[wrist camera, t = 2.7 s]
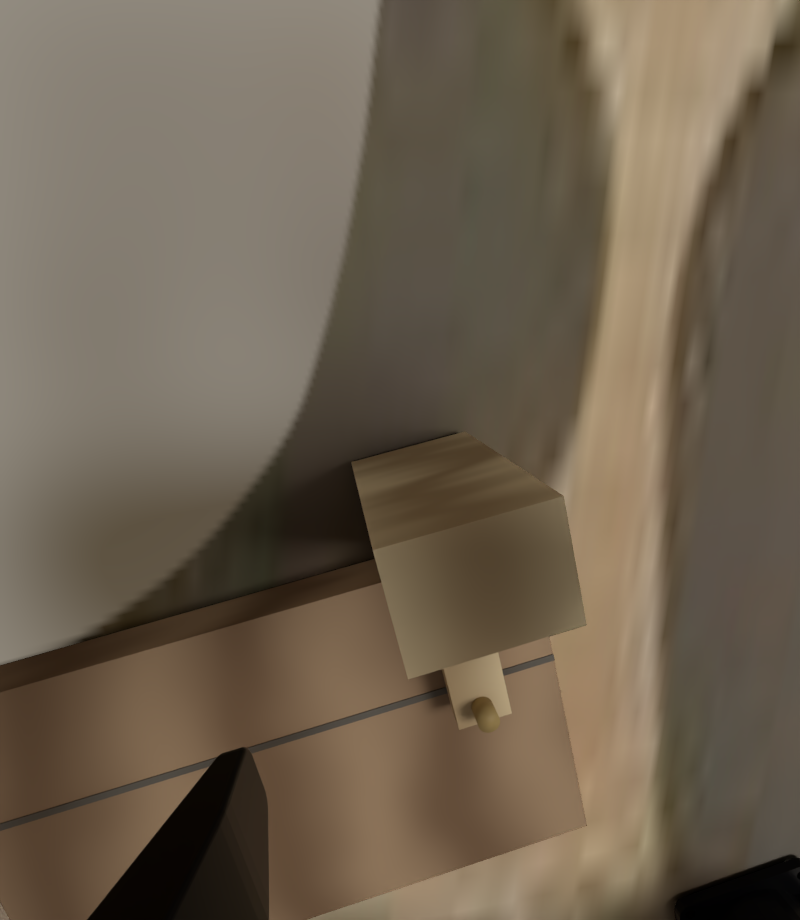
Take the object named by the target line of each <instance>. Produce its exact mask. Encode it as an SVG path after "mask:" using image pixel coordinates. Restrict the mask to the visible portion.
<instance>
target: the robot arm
mask: <svg viewBox="0 0 800 920" xmlns="http://www.w3.org/2000/svg"><path fill="white" fill-rule="evenodd" d="M675 916H676V920H800V858H794V859H791V860H788V861H786V862H783V863H780V864H777V865H774V866H771V867H768V868H766V869H763V870H760V871H757V872H754V873H751V874H748V875H746V876H743V877H740V878H737V879H734V880H731V881H728V882H726V883H723V884H720V885H717V886H714V887H711V888H708V889H706V890H703V891H700V892H697V893H694V894H691V895H688V896H686V897H683V898H681V899H679V900H678V901H677V902H676V904H675ZM87 920H269V838H268V801H267V795H266V791H265V788H264V785H263V783H262V780H261V777H260V775H259V772H258V769H257V767H256V764H255V761H254V759H253V756H252V753H251V752H250V750H249V749H248V748H246V747H241V748H238V749H234V750H231V751H228V752H225V753H222V754H220V755H219V756H218V757H217V758H216V759H215V760H214V761H213V763H212V764H211V765H210V766H209V768H208V769H207V770H206V771H205V773H204V774H203V775H202V776H201V778H200V779H199V780H198V781H197V783H196V784H195V785H194V786H193V788H192V789H191V790H190V791H189V793H188V794H187V795H186V796H185V798H184V799H183V800H182V801H181V803H180V804H179V805H178V806H177V808H176V809H175V810H174V811H173V813H172V814H171V815H170V816H169V818H168V819H167V820H166V821H165V823H164V824H163V825H162V826H161V828H160V829H159V830H158V831H157V833H156V834H155V835H154V836H153V838H152V839H151V840H150V841H149V843H148V844H147V845H146V846H145V848H144V849H143V850H142V851H141V853H140V854H139V855H138V856H137V858H136V859H135V860H134V861H133V863H132V864H131V865H130V866H129V868H128V869H127V870H126V871H125V873H124V874H123V875H122V876H121V878H120V879H119V880H118V881H117V883H116V884H115V885H114V886H113V888H112V889H111V890H110V891H109V893H108V894H107V895H106V896H105V898H104V899H103V900H102V901H101V903H100V904H99V905H98V906H97V908H96V909H95V910H94V911H93V913H92V914H91V915H90V916H89V918H88V919H87Z"/></svg>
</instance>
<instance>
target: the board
mask: <svg viewBox="0 0 800 920" xmlns="http://www.w3.org/2000/svg"><path fill="white" fill-rule="evenodd" d="M498 654H499V658H500V663H501V667H502V671H503V676H504V680H505V685H506V689H507V694H508V698H509V703H510V707H511V711H512V714H508V715H505V716H502V717H499V718H500V725H499V727H498V728H497V729H496V730H495V731H493V732H490V733H485V732H483V731H481V730H480V729H479V727H478V724H477V725H473V726H470V727H467V728H464V729H461V730H459V728H458V725H457V722H456V720H455V717H454V714H453V711H452V708H451V704H450V700H449V696H448V692H447V688H446V684H445V680H444V676H443V672H442V669H441V670H438V671H434V672H431V673H428V674H425V675H421V676H418V677H415V678H411V679H408V677H407V674H406V670H405V666H404V663H403V659H402V655H401V652H400V648H399V644H398V641H397V637H396V634H395V630H394V626H393V623H392V619H391V615H390V612H389V608H388V604H387V601H386V597H385V593H384V590H383V586H382V583H381V579H380V575H379V572H378V568H377V564H376V561H375V559H372V560H369V561H365V562H362V563H358V564H355V565H351V566H348V567H344V568H341V569H337V570H334V571H330V572H327V573H323V574H320V575H316V576H313V577H309V578H306V579H302V580H299V581H295V582H292V583H288V584H285V585H281V586H278V587H274V588H271V589H267V590H264V591H260V592H257V593H253V594H250V595H246V596H243V597H239V598H235V599H232V600H228V601H225V602H221V603H218V604H214V605H211V606H207V607H204V608H200V609H197V610H193V611H190V612H186V613H183V614H179V615H176V616H172V617H169V618H165V619H162V620H158V621H155V622H151V623H148V624H144V625H141V626H137V627H134V628H130V629H127V630H123V631H120V632H116V633H113V634H109V635H106V636H102V637H99V638H95V639H92V640H88V641H85V642H81V643H78V644H74V645H71V646H67V647H64V648H60V649H56V650H53V651H49V652H46V653H42V654H39V655H35V656H32V657H28V658H25V659H21V660H18V661H14V662H11V663H7V664H4V665H0V902H1V904H2V906H3V908H4V910H5V912H6V913H7V915H8V917H9V919H10V920H87V919H88V918H89V916H90V915H91V914H92V913H93V911H94V910H95V909H96V908H97V906H98V905H99V904H100V903H101V901H102V900H103V899H104V898H105V896H106V895H107V894H108V893H109V891H110V890H111V889H112V888H113V886H114V885H115V884H116V883H117V881H118V880H119V879H120V878H121V876H122V875H123V874H124V873H125V871H126V870H127V869H128V868H129V866H130V865H131V864H132V863H133V861H134V860H135V859H136V858H137V856H138V855H139V854H140V853H141V851H142V850H143V849H144V848H145V846H146V845H147V844H148V843H149V841H150V840H151V839H152V838H153V836H154V835H155V834H156V833H157V831H158V830H159V829H160V828H161V826H162V825H163V824H164V823H165V821H166V820H167V819H168V818H169V816H170V815H171V814H172V813H173V811H174V810H175V809H176V808H177V806H178V805H179V804H180V803H181V801H182V800H183V799H184V798H185V796H186V795H187V794H188V793H189V791H190V790H191V789H192V788H193V786H194V785H195V784H196V783H197V781H198V780H199V779H200V778H201V776H202V775H203V774H204V773H205V771H206V770H207V769H208V768H209V766H210V765H211V764H212V763H213V761H214V760H215V759H216V758H217V757H218V756H219V755H220V754H222V753H225V752H228V751H231V750H234V749H238V748H241V747H246V748H248V749H249V750H250V752H251V753H252V756H253V759H254V761H255V764H256V767H257V769H258V772H259V775H260V777H261V780H262V783H263V785H264V788H265V791H266V795H267V801H268V838H269V920H307V919H310V918H313V917H316V916H319V915H322V914H325V913H328V912H331V911H334V910H337V909H340V908H343V907H345V906H348V905H351V904H354V903H357V902H360V901H363V900H366V899H369V898H372V897H375V896H378V895H381V894H384V893H387V892H390V891H393V890H396V889H399V888H402V887H405V886H408V885H411V884H414V883H417V882H420V881H423V880H426V879H429V878H432V877H435V876H438V875H441V874H444V873H447V872H450V871H453V870H456V869H459V868H462V867H465V866H468V865H471V864H474V863H477V862H480V861H483V860H486V859H489V858H492V857H495V856H498V855H501V854H504V853H507V852H510V851H513V850H516V849H519V848H522V847H525V846H528V845H531V844H534V843H537V842H540V841H543V840H546V839H549V838H552V837H555V836H558V835H561V834H564V833H567V832H570V831H573V830H576V829H579V828H582V827H585V826H587V824H586V819H585V814H584V809H583V804H582V798H581V793H580V788H579V783H578V778H577V773H576V768H575V763H574V758H573V753H572V748H571V743H570V738H569V733H568V728H567V723H566V718H565V713H564V708H563V703H562V698H561V692H560V687H559V682H558V677H557V672H556V667H555V662H554V655H553V652H552V647H551V642H550V637H546V638H543V639H540V640H536V641H533V642H530V643H526V644H523V645H520V646H517V647H513V648H510V649H507V650H503V651H500V652H498Z"/></svg>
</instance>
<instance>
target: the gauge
mask: <svg viewBox="0 0 800 920" xmlns="http://www.w3.org/2000/svg"><path fill="white" fill-rule="evenodd" d="M351 464H352V468H353V472H354V476H355V480H356V484H357V488H358V492H359V496H360V500H361V505H362V509H363V513H364V517H365V521H366V525H367V529H368V533H369V537H370V541H371V546H372V550H373V553H374V557H375V561H376V564H377V568H378V572H379V575H380V579H381V583H382V586H383V590H384V593H385V597H386V601H387V604H388V608H389V612H390V615H391V619H392V623H393V626H394V630H395V634H396V637H397V641H398V644H399V648H400V652H401V655H402V659H403V663H404V666H405V670H406V674H407V677H408V679H411V678H415V677H418V676H421V675H425V674H428V673H431V672H434V671H438V670H441V669H442V672H443V676H444V680H445V684H446V688H447V692H448V696H449V700H450V704H451V708H452V711H453V714H454V717H455V720H456V722H457V725H458V728H459V730H461V729H464V728H467V727H470V726H473V725H477V724H478V727H479V729H480V730H481V731H483V732H485V733H490V732H493V731H495V730H496V729H497V728H498V727H499V725H500V718H499V717H502V716H505V715H508V714H512V711H511V707H510V703H509V698H508V694H507V689H506V685H505V680H504V676H503V671H502V667H501V663H500V658H499V654H498V652H500V651H503V650H507V649H510V648H513V647H517V646H520V645H523V644H526V643H530V642H533V641H536V640H540V639H543V638H546V637H549V636H553V635H556V634H559V633H563V632H566V631H569V630H573V629H576V628H579V627H582V626H586V625H587V624H586V619H585V613H584V608H583V602H582V596H581V591H580V585H579V580H578V574H577V568H576V563H575V557H574V552H573V546H572V540H571V535H570V529H569V524H568V518H567V512H566V507H565V501H564V496H563V495H561V494H560V493H558V492H556V491H555V490H553V489H552V488H550V487H549V486H547V485H546V484H544V483H543V482H541V481H540V480H538V479H537V478H535V477H534V476H532V475H531V474H529V473H527V472H526V471H524V470H523V469H521V468H520V467H518V466H517V465H515V464H514V463H512V462H511V461H509V460H508V459H506V458H505V457H503V456H502V455H500V454H498V453H497V452H495V451H494V450H492V449H491V448H489V447H488V446H486V445H485V444H483V443H482V442H480V441H479V440H477V439H476V438H474V437H473V436H471V435H469V434H468V433H466V432H461V433H458V434H454V435H450V436H446V437H443V438H439V439H435V440H432V441H428V442H424V443H420V444H417V445H413V446H409V447H406V448H402V449H398V450H395V451H391V452H387V453H383V454H380V455H376V456H372V457H369V458H365V459H361V460H357V461H354V462H351Z"/></svg>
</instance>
